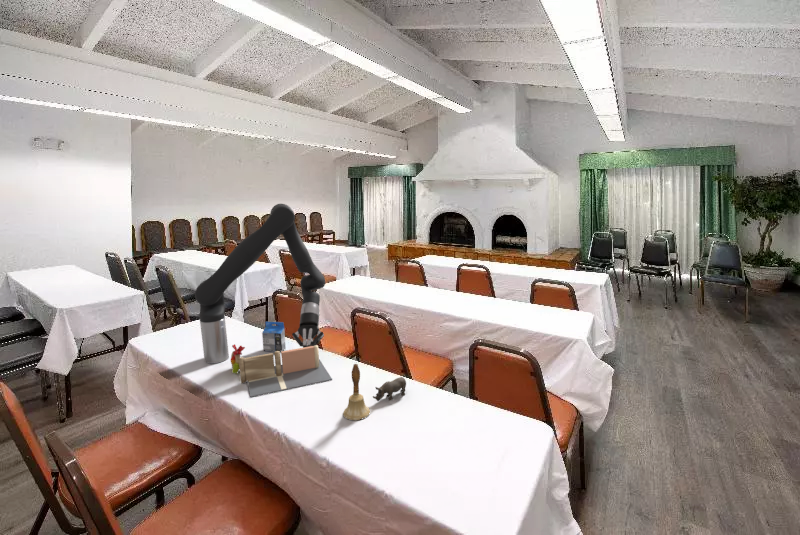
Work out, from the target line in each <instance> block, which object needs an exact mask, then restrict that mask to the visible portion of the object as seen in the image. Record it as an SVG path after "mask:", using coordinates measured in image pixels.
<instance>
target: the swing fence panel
mask: <svg viewBox="0 0 800 535" xmlns="http://www.w3.org/2000/svg"><path fill="white" fill-rule="evenodd" d="M319 352H320V351H319V345H318V344H317V345H315V346H310V347H304V348H303V347H299V348H292V349H287V350H284V351H281V352H280V356H281V365H282V368H283V374H286V373H291V372H296V371H301V370H306V369H311V368H318V367H319V359H320V353H319Z"/></svg>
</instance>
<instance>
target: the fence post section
mask: <svg viewBox="0 0 800 535" xmlns="http://www.w3.org/2000/svg"><path fill="white" fill-rule="evenodd" d="M281 365H282V357H281V352H280V351H273V352H270V353H266V354H260V355H254V356H249V357H243V356H240V358H239V368H240V370H239V378H240V383H241V384H246V383H247V382H248V381H250V380H255V379H260V378H265V377H270V376H275V369H274V366H276V376H281V375H282V370H281Z"/></svg>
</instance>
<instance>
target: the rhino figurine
mask: <svg viewBox="0 0 800 535" xmlns="http://www.w3.org/2000/svg"><path fill="white" fill-rule="evenodd" d="M406 386H407V381H406V379H405V378H404V376H400V377H397V378H395V379H393V380H391V381H386V382H384V383H382V385H381V386H379V387H377V386H375V390H377V393H376V394H375V396H374V395H373V396H372V398H373V399H375V400H376V401H377V402H379V401H381V399H383V397H385V394H386V397H387V398H388V399H389V400H388V401H393V394H394V393H397V392H399V391H400V392H401V393H400V396H401V397H404V396H405V395H406V393H405V392H406Z"/></svg>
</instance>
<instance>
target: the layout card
mask: <svg viewBox="0 0 800 535" xmlns="http://www.w3.org/2000/svg"><path fill="white" fill-rule="evenodd" d="M274 369H275V376H270V377H265V378H260V379H255V380H250V381H247V385H248V390H249V396H250V398H254V396H255V397H259V396H258V395H260V396H264V395H268V393H269V394H273V392H274V393H278V392H283V391H287V390H291V389H298V388H301V387H306V385H307V386H311V385H315V383H316V384H320V382H321V383H324V382H329V380H330V381H333V378H332V376H331V375H330V373H329V372H328V370H327V369H326V367H325V366H324V364H323V363H322V361H321V359H320V358H319V367H318V368H311V369H306V370H301V371H296V372H291V373H286V374H283V368H282V364H281V370H282V375H281V376H276V366H275V365H274ZM310 384H311V385H310ZM263 394H264V395H263Z"/></svg>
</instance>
